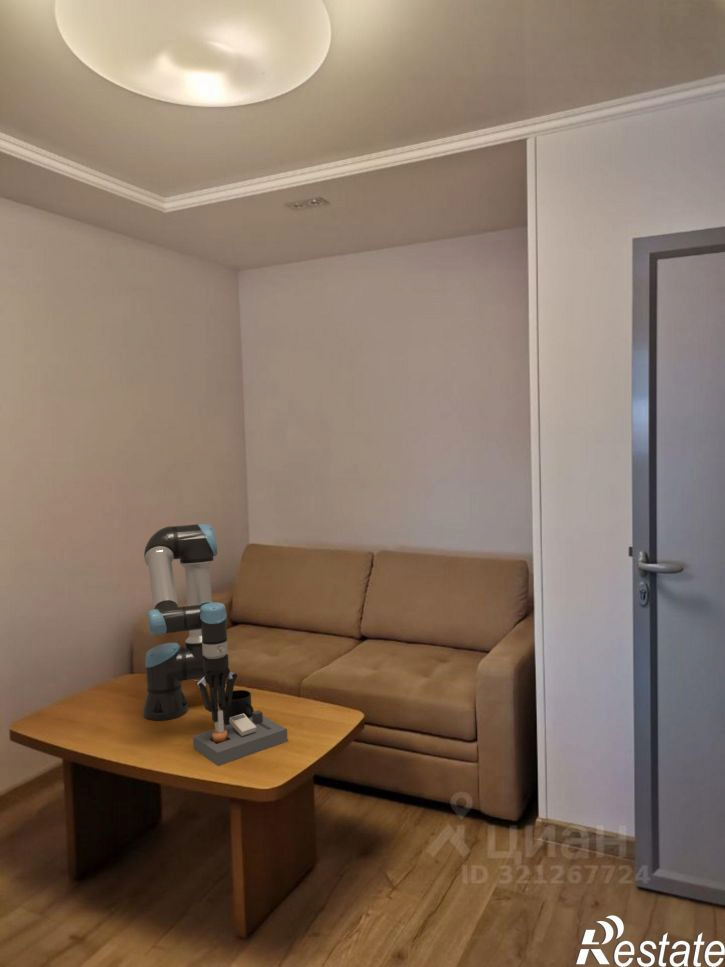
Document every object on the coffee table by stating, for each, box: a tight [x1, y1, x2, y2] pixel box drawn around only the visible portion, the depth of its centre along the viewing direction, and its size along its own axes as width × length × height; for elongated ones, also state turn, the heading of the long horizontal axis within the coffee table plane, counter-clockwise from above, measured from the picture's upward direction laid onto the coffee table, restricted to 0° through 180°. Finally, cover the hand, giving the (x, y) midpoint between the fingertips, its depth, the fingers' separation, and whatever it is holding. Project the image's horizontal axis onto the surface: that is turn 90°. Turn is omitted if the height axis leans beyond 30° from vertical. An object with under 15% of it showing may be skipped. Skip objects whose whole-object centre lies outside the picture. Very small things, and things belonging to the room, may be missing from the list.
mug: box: [223, 689, 254, 726], centre depth 245 cm, size 9×12×9 cm
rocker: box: [229, 713, 257, 736], centre depth 227 cm, size 8×5×2 cm, turn 39°
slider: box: [252, 710, 264, 723], centre depth 234 cm, size 2×2×3 cm
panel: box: [192, 715, 288, 767], centre depth 227 cm, size 16×24×5 cm, turn 129°
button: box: [212, 729, 227, 744], centre depth 222 cm, size 4×4×6 cm
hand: (219, 731), depth 222 cm, fingers closed
